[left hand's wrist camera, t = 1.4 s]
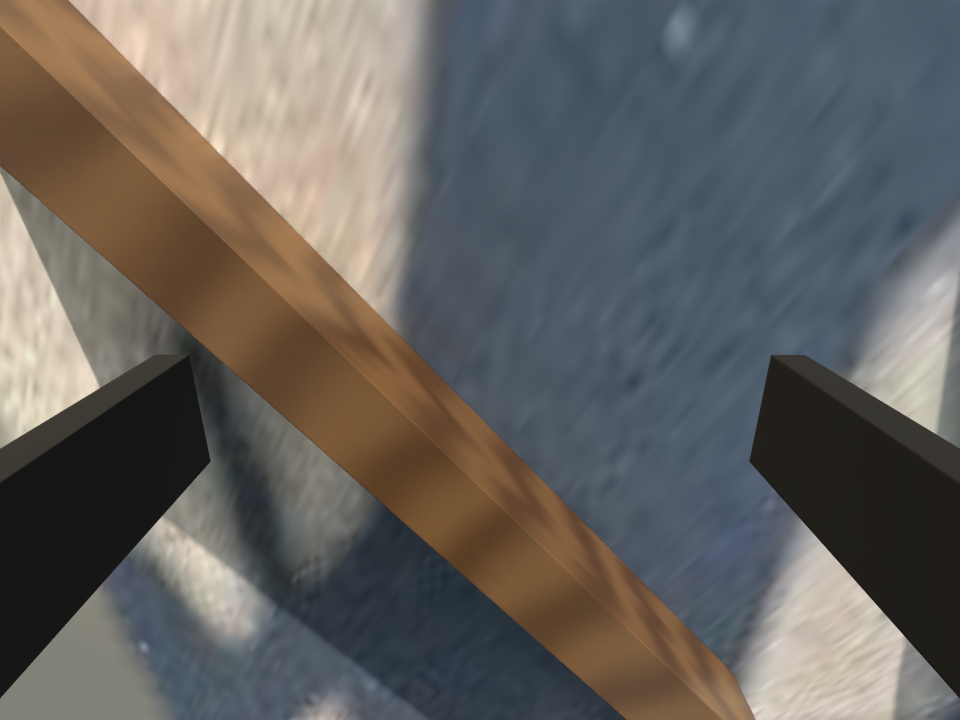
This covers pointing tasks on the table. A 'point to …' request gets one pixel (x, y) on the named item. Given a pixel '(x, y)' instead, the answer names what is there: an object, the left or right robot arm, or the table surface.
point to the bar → (329, 360)
